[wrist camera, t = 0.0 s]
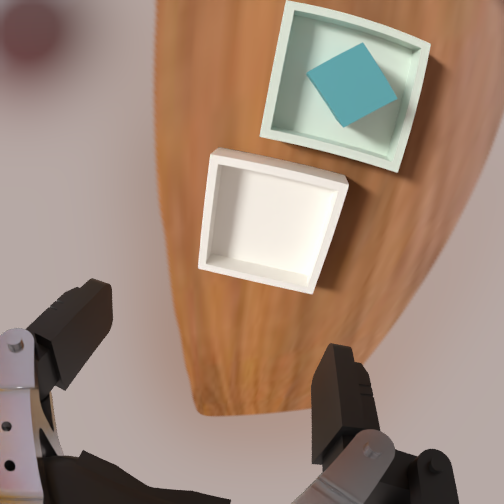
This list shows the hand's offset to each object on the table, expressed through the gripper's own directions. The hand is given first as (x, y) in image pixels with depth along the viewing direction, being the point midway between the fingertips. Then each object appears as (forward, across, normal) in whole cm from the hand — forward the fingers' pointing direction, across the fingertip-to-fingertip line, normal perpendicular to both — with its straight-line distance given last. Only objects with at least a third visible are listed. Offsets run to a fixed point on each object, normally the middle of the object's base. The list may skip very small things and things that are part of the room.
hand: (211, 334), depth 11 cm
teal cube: (+20, -5, -12) cm, 24 cm away
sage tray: (+21, -5, -12) cm, 25 cm away
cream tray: (+23, -1, +2) cm, 23 cm away
